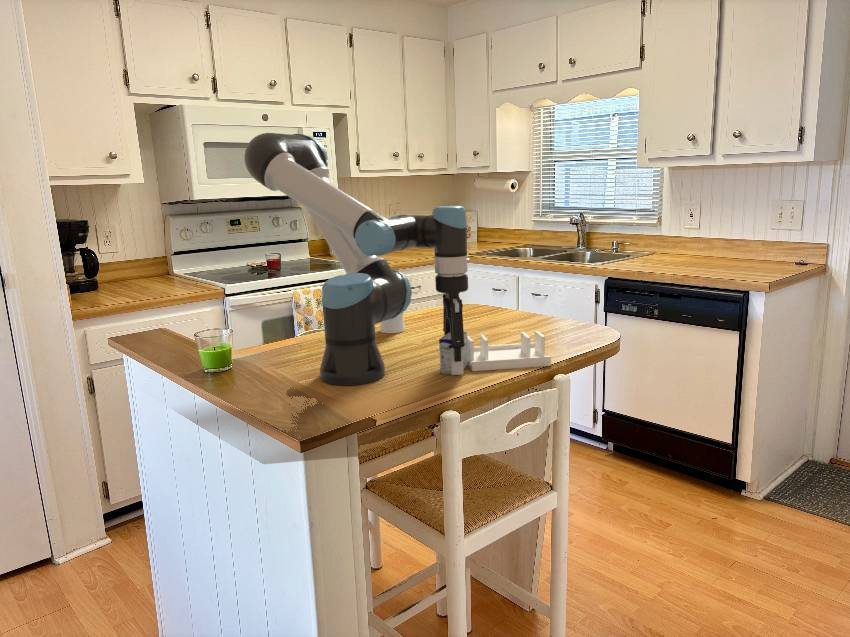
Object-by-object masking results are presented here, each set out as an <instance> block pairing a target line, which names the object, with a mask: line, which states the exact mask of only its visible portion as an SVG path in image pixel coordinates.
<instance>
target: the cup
mask: <svg viewBox="0 0 850 637" xmlns="http://www.w3.org/2000/svg"><path fill="white" fill-rule="evenodd" d="M404 312H405V311H404ZM404 312H403V313H401V314H400V315H398V316H396V317H395V318H393V319H388V320H385V321H383V322H380V323H379V333H383V334H399V333H403V332H405V331H406V325H405V321H404Z"/></svg>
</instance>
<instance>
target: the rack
mask: <svg viewBox="0 0 850 637" xmlns="http://www.w3.org/2000/svg"><path fill="white" fill-rule="evenodd" d="M467 344H468V366H469V368H470V370H471V371H472V372H480V371H481V372H482V371H492V370H507V369H508V370H510V369H525V368H535V367H536V368H537V367H550V366H552V356H551V355H546V337H545V335H544V334H543V333H541V332H540V331H538V330H534V342H533V341H532V342H531V337H530V336H529V334H527V333H526V332H525V331H520V343H519V342H518V343H503V344H491V345H490V344H489V339H488V338H487V337H486V336H485V335H484V334H483V333H482V334H479V345H477V346H474V339H472V338H471V336H470V335H468V334H467Z"/></svg>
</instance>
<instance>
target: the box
mask: <svg viewBox="0 0 850 637" xmlns="http://www.w3.org/2000/svg"><path fill="white" fill-rule="evenodd" d="M467 335H468V332H467V331H464V343H465V346H464V347H463V370H465V369H466V368H467V367H468V366H469V365H468V344H467ZM438 342H439V343H438V344H439V345H438V346H439V362H440V363H439V365H440V366H439V367H440V374H443V375H452V374H451V348H449V345H451V344H452V343H451V333H450V332H449V333H447V334H446V335H444V336H442V337H440V338H439V339H438ZM456 342H460V341H456Z"/></svg>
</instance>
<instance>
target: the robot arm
mask: <svg viewBox="0 0 850 637" xmlns="http://www.w3.org/2000/svg"><path fill="white" fill-rule="evenodd" d="M327 160H328V154H327V150H326V149H325V146H323V144H322V143H321V141H319V140H318V139H316V138H315V137H313V136H310V135H306V134H303V133H292V134H290V133H276V132H263V133H260V134H258V135H256V136H254V137H253V138H252V139H251V140H250V141H249V142H248V144H247V146H246V148H245V150H244V165H245V167H246V170H247V172H248V173H249V174H250V176H251V177H252V178H253V179H255V181H257V182H258V183H260V184H261V185H262V186H263V187H265V188H267V189H268V190H270V191H273V192H277V191H280V192H281V193H283V194H284V195H286V196H287V197H289V198H291V200H293V201H295V202H297V203H298V204H299V205H302V207H304V208H305V209H306V211H307V213H308V215H309V216H310V217H311V219H312V220H313V222H314V224H315V225H316V226H317V228H318V230H319V232H320V233H321V234H322V236H323V238H324V239H325V241H326V243H327V244H328V246H329V247H330V249H331V251H332V252H333V254H334V256H335V257H336V259H337V261H338V262H339V264H340V265H341V267H342V268H343V269H344V270H343V271H345V274H339V275H337V276H333V277H331V278H329V279H327V280H325V282H323V284H322V286H321V287H322V288H321V304H322V313H323V314H322V316H323V325H324V326H323V328H324V337H325V338H324V339H325V347H324V352H323V354H322V355H323V356H322V360H321V363H320V368H319V374H320V376H319V377H320V380H321V381H322V382H324V383H325V384H329V385H334V386H335V385H336V386H357V385H362V384H369V383H372V382H377V381H378V380H380V379H382V378H383V377H384V376H385V374H386V369H385V367H386V366H385V361H384V359H383V357H382V355H381V353H380V349H379V347H378V345H377V340H376V339H377V338H376V325H377V324H380V322H383V321H385V320H388V319H393V318H395V317H396V316H398V315H400V314H401V313H403V312H406V310H407V309H408V307H409V306H410V304H411V301H412V300H411V299H412V296H413V294H412V293H413V292H412V286H411V282H410V280H409V278H407V276H406V275H405V274H404V273H403V272H401V271H398V270H396V269H392V267H391V266H390V264H389V263H388V261H387V260H386V258H385V257H380V256H386V255H387V254H391V253H396V252H400V251H405V250H409V249H415V248H416V249H418V248H419V249H421V248H422V249H423V248H426V249H428V248H429V249H432V248H433V251H434V255H433V256H434V258H433V259H434V273H435V274H436V276H435V282H434V283H435V291H436V292H438V293H441V294H442V305H443V306H442V307H443V308H442V310H443V313H442V314H443V328H442V331H443V334H444V336H445V335H446V334H447V333H449V332H450V333H451V343H452V344H451V345H449V348H451V374H450V375H451V376H458V375H464V369H463V347H464V346H465V343H464V332H465V331H464V317H463V307H464V304H463V300H462V299H461V297H460V295H459V294H460V293H464V292H465V293H466V292H467V291H468V290H469V276H468V274H466V273H468V264H469V263H470V262H471V259H470V258H468V224H467V223H468V222H467V213H466V212H467V211H466V209H465V207H463V206H462V205H442V206H441V205H440V206H436V207H434V208H433V209H432V214H429V215H424V214H423V215H422V214H421V215H415V214H414V215H413V214H410V215H409V214H399V215H393V216H390V217H389V218H387V217H384V216H383V215H381V214H380V213H378V212H377V211H375V210H373V209H372V208H370V207H369V206H367V205H365V204H363V203H362V202H360V201H358V200H357V199H355V198H354V197H353V196H350V195H349V194H347V193H346V192H344V191H342V190H341V189H340V188H338V187H336V186H334V185H333V184H332V183H331V182H330V181H329V175H330V170H329V168H328V164H329V162H327ZM403 314H404V313H403ZM456 341H460V342H456Z"/></svg>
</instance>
